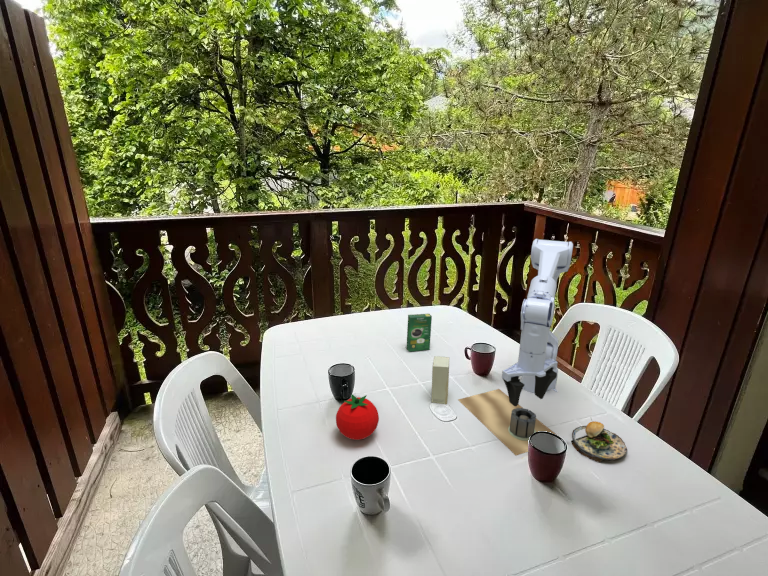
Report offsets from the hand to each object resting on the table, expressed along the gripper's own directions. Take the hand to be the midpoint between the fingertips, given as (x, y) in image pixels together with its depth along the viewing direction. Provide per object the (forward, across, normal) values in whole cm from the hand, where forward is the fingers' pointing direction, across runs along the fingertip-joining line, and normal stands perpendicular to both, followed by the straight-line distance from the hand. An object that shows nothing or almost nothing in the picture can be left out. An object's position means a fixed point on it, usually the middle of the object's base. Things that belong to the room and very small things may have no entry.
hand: (526, 400), depth 98 cm
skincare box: (+10, -11, +21) cm, 26 cm away
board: (+10, 0, +6) cm, 12 cm away
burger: (+10, +14, -10) cm, 20 cm away
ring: (+9, 0, 0) cm, 9 cm away
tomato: (+10, -37, +16) cm, 42 cm away
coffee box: (+10, -2, +51) cm, 52 cm away
